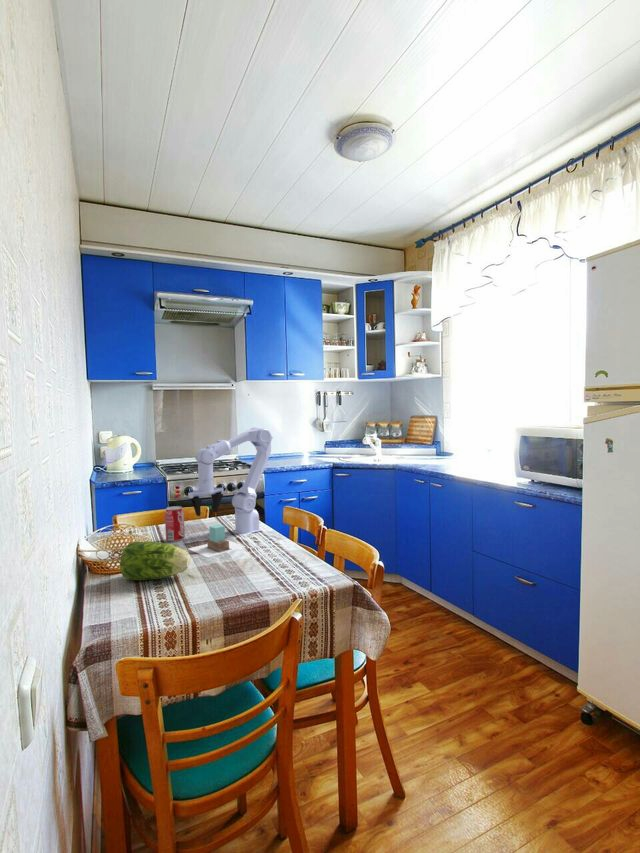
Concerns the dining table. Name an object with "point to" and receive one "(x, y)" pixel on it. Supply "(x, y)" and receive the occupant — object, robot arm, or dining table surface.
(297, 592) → the dining table surface
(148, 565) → the lettuce
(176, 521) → the soda can
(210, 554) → the plate
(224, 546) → the base brick
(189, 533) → the dining table surface
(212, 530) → the teal block
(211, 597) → the dining table surface
